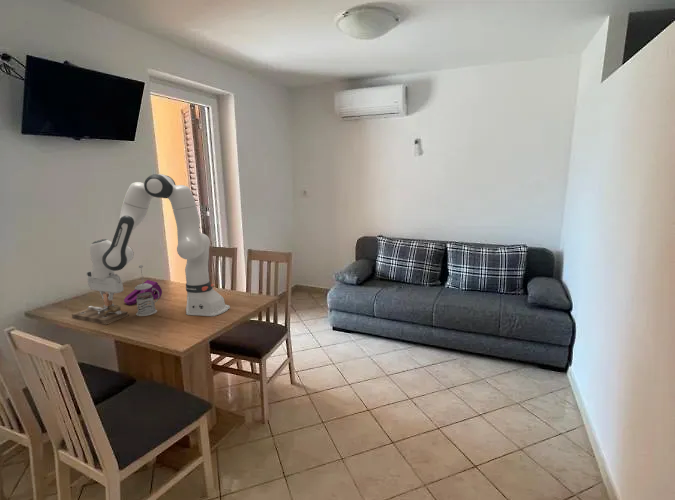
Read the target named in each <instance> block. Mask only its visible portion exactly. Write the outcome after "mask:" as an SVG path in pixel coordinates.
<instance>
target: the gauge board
mask: <svg viewBox="0 0 675 500" xmlns="http://www.w3.org/2000/svg"><path fill="white" fill-rule="evenodd" d="M101 309H104V308H103V307H102V306H93V305H90V306H87V308H85V309H82V310H79V311H77V312H73V313H72V314H71V318H72V319H75V320H76V319H77V320H81V321H86V322H92V323H97V324H102V325H107V324H111V323H113V322H116V321H118V320H120V319H123V318H126V317H128V316H129V312H128V311H126V310H122V309H121V305H120V304H114V306H111V307H109V309H110V310H107V311H106V310H105V311H102V312H100V315H98V310H101Z"/></svg>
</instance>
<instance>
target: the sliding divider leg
mask: <svg viewBox="0 0 675 500" xmlns="http://www.w3.org/2000/svg"><path fill="white" fill-rule="evenodd" d="M103 297H104V299H103V303H104V305H102V306H103V308H104V309H101V310H98V315H100V312H102V311H105V310H106V311H107V310H110V309H109V307H111V306H114V305H115V304H114V303H113V300H108V297H109V294H108V292H105V293H104V294H103Z"/></svg>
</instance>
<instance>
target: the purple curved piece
mask: <svg viewBox="0 0 675 500" xmlns="http://www.w3.org/2000/svg"><path fill="white" fill-rule="evenodd" d="M143 283H147V284H151V285H152V287H151V288H149V289H145V290H136V289H135V288H134V290H133V291H131V292H130V293H129V294H128V295H126V297H124V299H123V302H124V303H125V305H127V306H132V305H135V304H137V300H136V298H137V294H140V293H145V292H151V293H152V295H153V299H154V300H157V299H158V297H159V298H161V296H162V294H163V289H162V287H161V286H160V285H159V283H158V281H154V280H150V279H147V280H145V281H143ZM152 288H153V291H152ZM154 288H155V290H154ZM156 289H157V290H158V291H159V296H158V292H157V291H156ZM147 298H151V297H147ZM158 300H159V299H158Z"/></svg>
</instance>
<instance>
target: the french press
mask: <svg viewBox="0 0 675 500" xmlns="http://www.w3.org/2000/svg"><path fill="white" fill-rule="evenodd" d="M143 267H144V265H143V264H139V266H138V268H139V269H140V272H141V274H143V272H142V269H143ZM141 279H142V281H141V282H142V283H140V284H137V285H136V286H134V290H135V289H136V290H145V289H149V288H151V287H152V285H151V284H147V283H144V278H143V276H141ZM154 290H155V288H154ZM152 291H153V288H152ZM156 291H157V292H158V296H159V291H158V290H157V289H156ZM148 297H151V298H148ZM159 298H160V297H158V299H153V295H152V293H151V292H145V293H140V294H137V298H136V300H137V303H136V305H137V312H136V313H135V315H136V316H137V317H138V316H139V317H145V316H151V315H154V314H156V313H158V310H157V309H156V305H155V303H156V302H158V300H159Z"/></svg>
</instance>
